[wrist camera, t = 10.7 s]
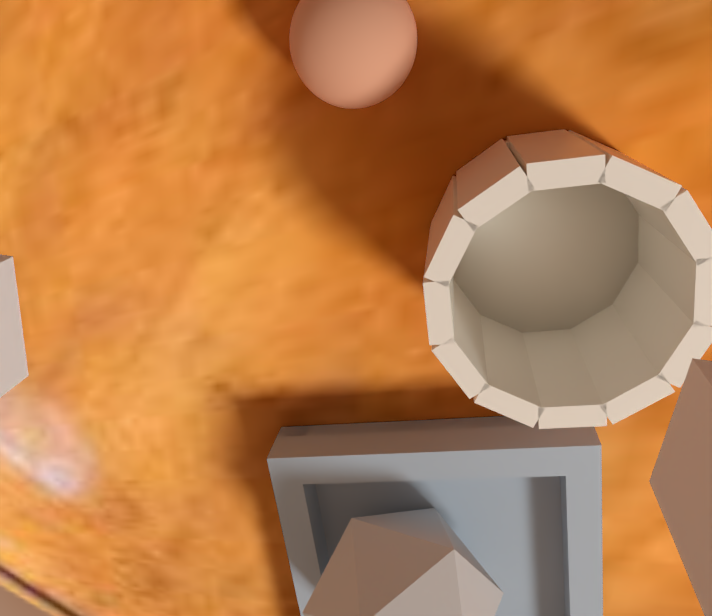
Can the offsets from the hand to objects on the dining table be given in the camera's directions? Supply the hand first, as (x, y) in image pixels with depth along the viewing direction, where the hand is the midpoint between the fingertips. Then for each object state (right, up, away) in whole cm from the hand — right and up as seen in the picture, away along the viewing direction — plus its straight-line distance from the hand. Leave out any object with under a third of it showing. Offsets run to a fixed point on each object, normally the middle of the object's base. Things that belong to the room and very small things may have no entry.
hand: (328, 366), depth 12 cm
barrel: (+9, +4, +17) cm, 20 cm away
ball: (+1, +12, +15) cm, 19 cm away
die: (+6, -12, +22) cm, 26 cm away
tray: (+5, -12, +24) cm, 27 cm away
